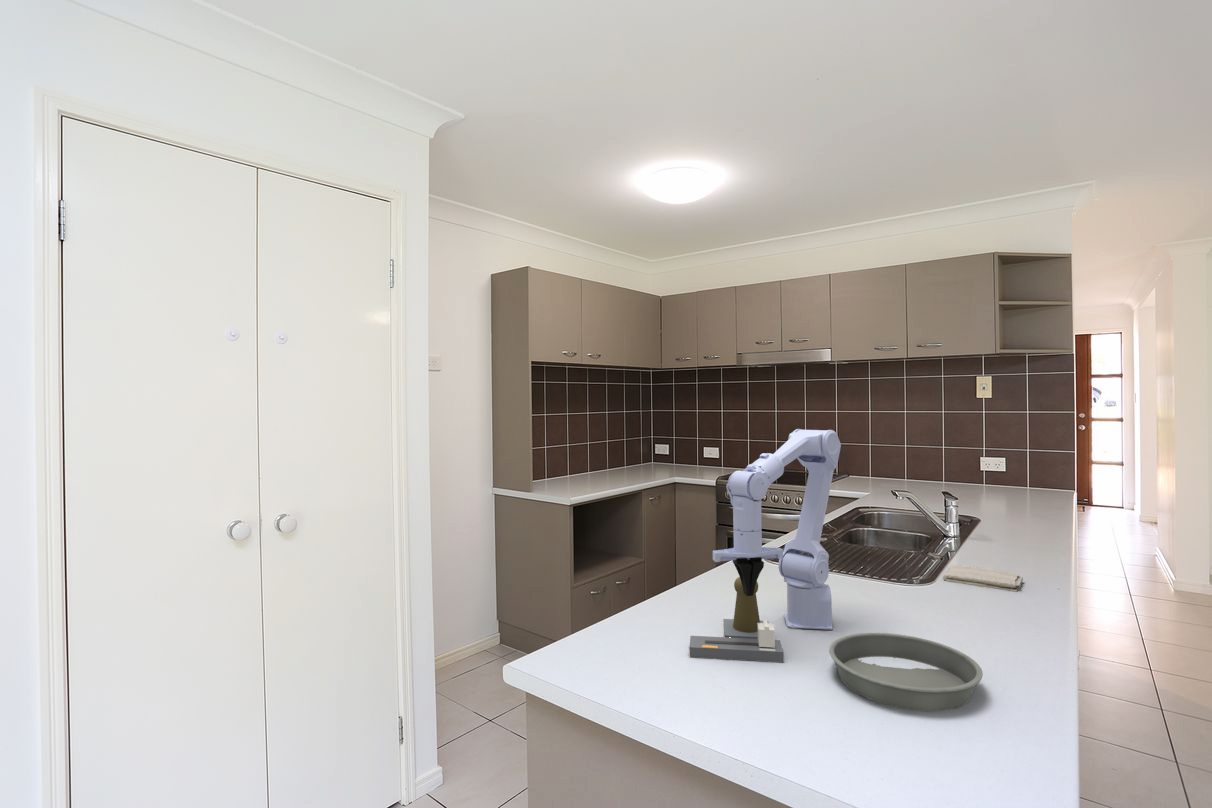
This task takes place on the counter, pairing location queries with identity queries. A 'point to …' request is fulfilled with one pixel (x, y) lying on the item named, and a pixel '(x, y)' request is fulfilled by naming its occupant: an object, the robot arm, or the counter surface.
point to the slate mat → (733, 633)
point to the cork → (745, 610)
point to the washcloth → (983, 577)
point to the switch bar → (734, 649)
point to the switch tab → (766, 634)
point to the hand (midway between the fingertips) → (748, 594)
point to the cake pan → (906, 671)
